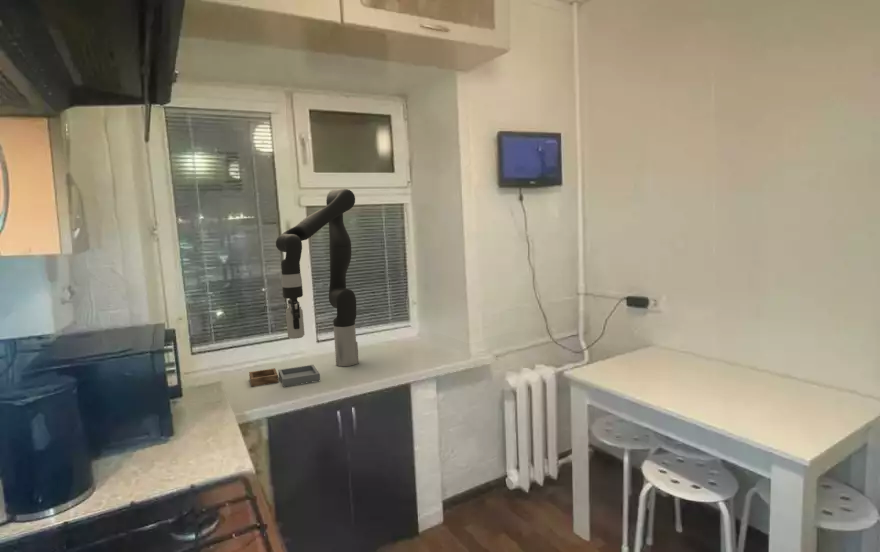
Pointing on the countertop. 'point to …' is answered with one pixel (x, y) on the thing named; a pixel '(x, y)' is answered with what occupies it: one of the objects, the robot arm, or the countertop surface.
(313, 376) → the tray
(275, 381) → the collar
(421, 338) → the countertop surface
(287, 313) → the beverage can
